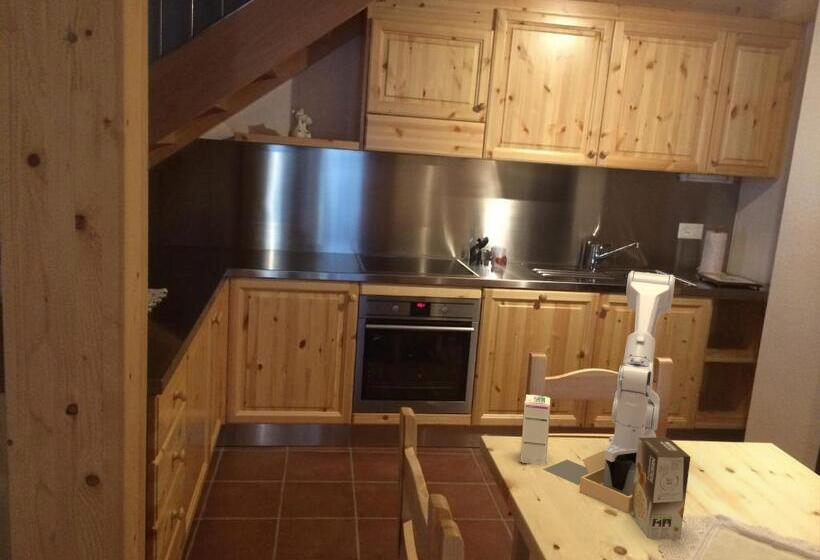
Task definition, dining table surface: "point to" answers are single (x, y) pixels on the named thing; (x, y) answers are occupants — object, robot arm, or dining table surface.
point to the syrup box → (535, 429)
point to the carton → (594, 484)
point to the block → (628, 483)
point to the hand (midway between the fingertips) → (623, 485)
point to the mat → (568, 471)
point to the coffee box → (659, 488)
